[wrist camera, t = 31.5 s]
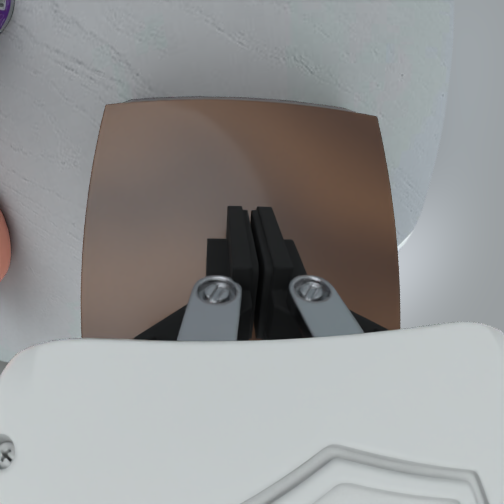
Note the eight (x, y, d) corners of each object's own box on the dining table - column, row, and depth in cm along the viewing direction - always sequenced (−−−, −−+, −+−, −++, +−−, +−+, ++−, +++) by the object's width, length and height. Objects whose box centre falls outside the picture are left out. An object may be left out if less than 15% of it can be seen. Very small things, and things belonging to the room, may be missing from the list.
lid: (391, 367, 14) (399, 370, 13) (90, 376, 12) (84, 380, 11) (371, 122, 16) (377, 115, 15) (109, 112, 14) (105, 104, 13)
